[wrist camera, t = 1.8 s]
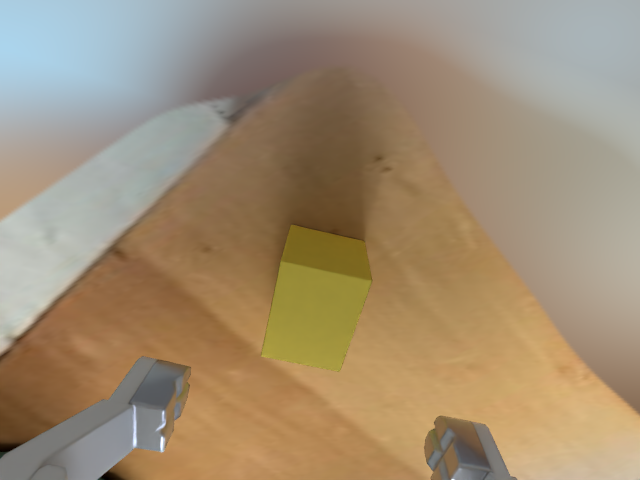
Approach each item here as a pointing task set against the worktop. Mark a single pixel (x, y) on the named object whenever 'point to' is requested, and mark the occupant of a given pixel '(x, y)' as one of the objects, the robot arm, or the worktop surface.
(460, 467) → the robot arm
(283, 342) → the yellow block
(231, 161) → the worktop surface
